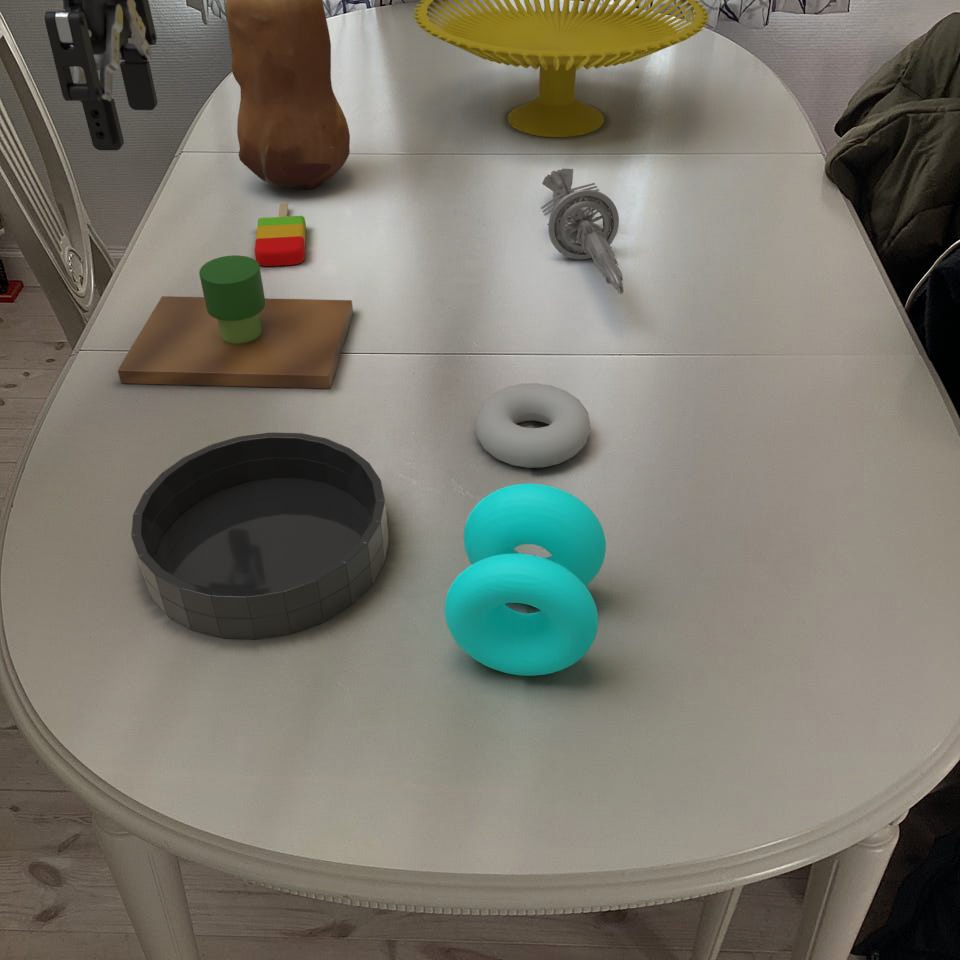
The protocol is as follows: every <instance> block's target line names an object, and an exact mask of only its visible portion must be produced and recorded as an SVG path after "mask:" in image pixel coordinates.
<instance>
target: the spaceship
mask: <svg viewBox="0 0 960 960" xmlns="http://www.w3.org/2000/svg"><path fill="white" fill-rule="evenodd" d="M573 177H574V168H561V169H557V170H552V171H551V172H550V174H549V173H548V174H547V175H546V176H544V179H543V181H542V183H541V184H542V185H543V186H545V188H547V189H548V190H550V191H552V199H551V200H550V201H548V202H547V203H545V204H544V205H542V206H541V207H540V209H541V210H542V213H544V216H545V217H546V216H548V215H549V214H550V216H549V219H548V223H547V226H548V227H547V228H548V237H549V239H550V242H551V244H552V246H553V247H554V248H555V249H556V251H558V253H560V254H561V255H563V256H564V257H566V258H569V259H574V260H587V259H590V258H591V259H592V260H593V263H594V265H595V267H596V269H597V270H598V271H599V273H600V274H601V275H602V277H603V278H604V279H605V281H606V283H607V284H608V285H610V286H612V287H613V289H614V290H615V291H616V292H617V293H618V294H619V295H622V294H624V284H623V280H624V279H623V274H622V271H621V269H620V267H619V266H618V265H619V263H618V261H617V259H616V256H615V254H614V251H613V247H612V246H611V244H613V242H614V240H615V238H616V236H617V233H618V231H619V227H620V215H619V211H618V209H617V206H616V205H615V203H614V202H613V200H612V199H611V198H610V197H609V196H608V195H606V194H605V193H603V192H601V191H600V189H599V188H598V186H597V185H596V182H593V183H588V184H585V185H580V186H577V187H573V180H574V179H573ZM572 187H573V188H572ZM583 208H584V209H583ZM598 213H599V214H600V215H599V216H596V217H595V215H597V214H598ZM600 220H602V227H601V226H600V225H599V224H597V223H596V222H597V221H600ZM566 229H568V230H566ZM574 232H577V234H576V238H575V240H574V241H571V239H570V238H569V237H568V235H570V234H571V233H574Z"/></svg>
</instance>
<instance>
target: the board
mask: <svg viewBox="0 0 960 960" xmlns="http://www.w3.org/2000/svg"><path fill="white" fill-rule="evenodd" d="M265 302H266V303H265V307H264V309H263V310H262V311H261V312H260V313H259V317H260V323H261V329H262V332H261V334H260V336H259V337H258V338H256V339H255V340H253V341H250V342H247V343H240V344H234V343H229V342H226V341H224V340H223V339H222V338H221V335H220V330H219V325H218V320H217V319H216V318H213V317H212V316H210V315H209V314H208V312H207V309H206V304H205V299H204V296H173V295H171V296H170V295H169V296H167V295H166V296H165V295H162V296H161V297H160V299H159V300H158V302H157V304H156V306H155V307H154V309H153V310H152V312H151V314H150V316H149V317H148V319H147V320H146V322H145V323H144V326H143V327H142V329H141V331H140V332H139V333H138V335H137V337H136V338H135V340H134V342H133V344H132V345H131V347H130V349H129V350H128V352H127V354H126V356H125V357H124V358H123V360H122V362H121V364H120V365H119V366H118V369H117V373H118V377H119V381H120V383H121V384H130V385H131V384H133V385H141V384H142V385H169V386H171V385H172V386H174V385H176V386H177V385H178V386H208V387H209V386H211V387H212V386H213V387H214V386H217V387H252V388H253V387H256V388H257V387H258V388H262V387H263V388H287V389H288V388H289V389H290V388H293V389H294V388H295V389H297V388H298V389H328V390H329V389H331V387H332V384H333V381H334V377H335V374H336V371H337V367H338V364H339V361H340V357H341V354H342V350H343V348H344V344H345V341H346V338H347V334H348V330H349V328H350V324H351V321H352V318H353V314H354V307H353V306H354V305H353V300H352V299H315V298H314V299H313V298H310V299H309V298H265Z"/></svg>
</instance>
